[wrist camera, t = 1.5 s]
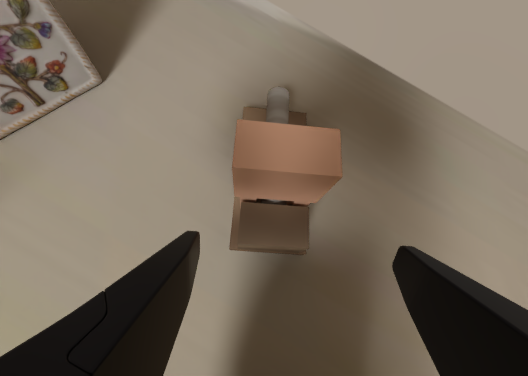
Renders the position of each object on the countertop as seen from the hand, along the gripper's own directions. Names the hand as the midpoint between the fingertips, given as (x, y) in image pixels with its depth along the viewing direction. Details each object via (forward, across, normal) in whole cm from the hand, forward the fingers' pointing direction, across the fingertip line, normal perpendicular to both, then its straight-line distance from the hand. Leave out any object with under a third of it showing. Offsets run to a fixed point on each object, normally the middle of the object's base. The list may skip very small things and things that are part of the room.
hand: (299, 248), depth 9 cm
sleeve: (+13, 0, +4) cm, 13 cm away
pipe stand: (+15, 0, +4) cm, 16 cm away
